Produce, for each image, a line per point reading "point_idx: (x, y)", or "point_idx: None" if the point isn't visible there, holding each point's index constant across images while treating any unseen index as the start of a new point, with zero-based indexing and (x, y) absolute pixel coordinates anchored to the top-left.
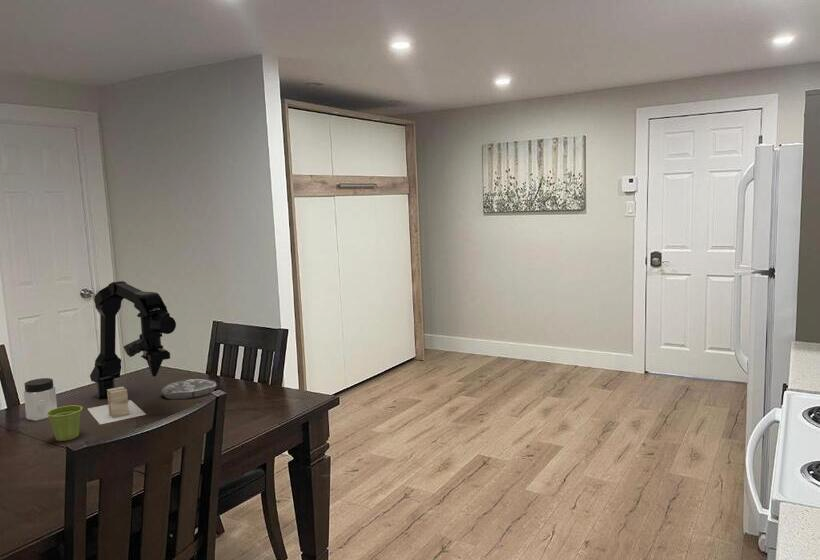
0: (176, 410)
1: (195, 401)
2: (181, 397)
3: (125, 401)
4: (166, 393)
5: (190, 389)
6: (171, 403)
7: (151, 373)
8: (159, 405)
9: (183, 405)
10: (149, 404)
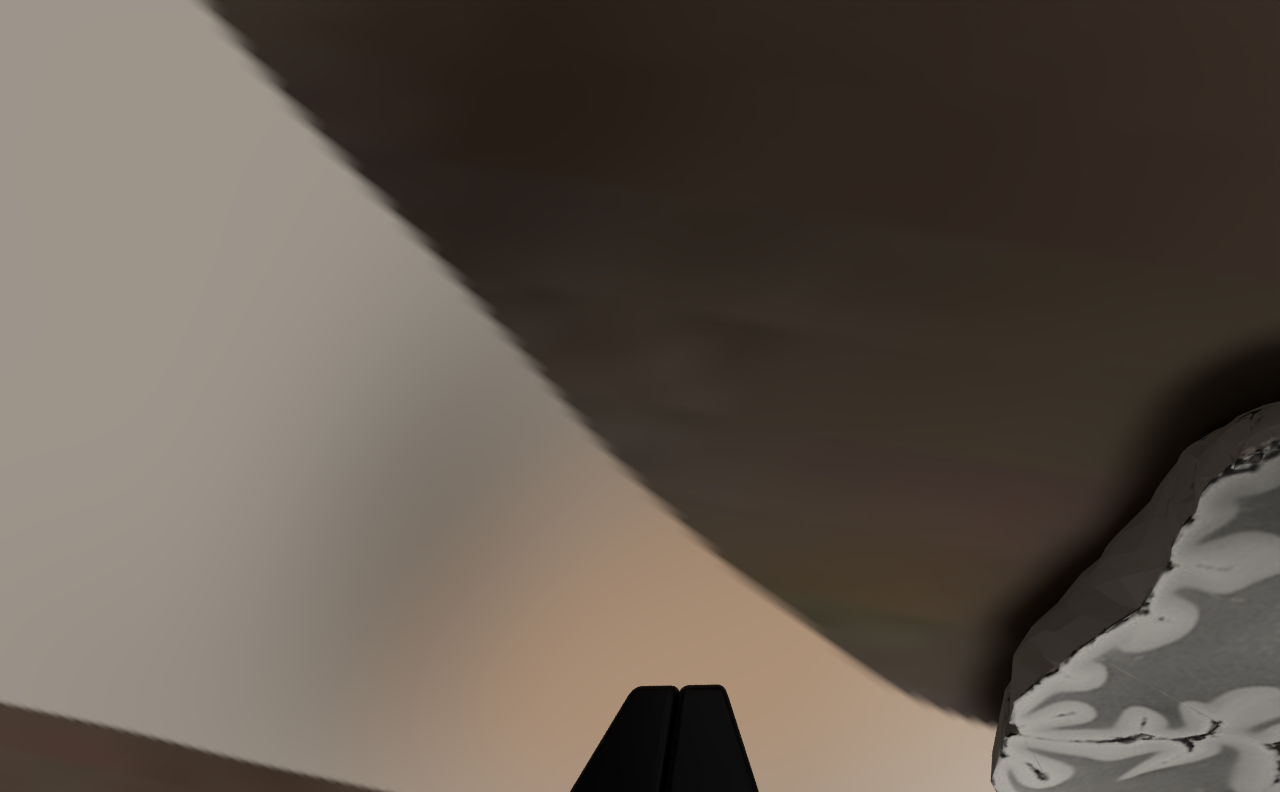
0: (573, 393)
1: (839, 631)
2: (1102, 562)
3: None
4: (1267, 466)
5: (1155, 735)
6: (991, 403)
7: (715, 767)
8: (1032, 237)
9: (759, 502)
10: (1263, 91)
